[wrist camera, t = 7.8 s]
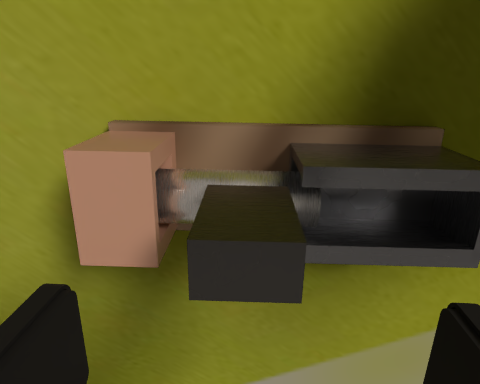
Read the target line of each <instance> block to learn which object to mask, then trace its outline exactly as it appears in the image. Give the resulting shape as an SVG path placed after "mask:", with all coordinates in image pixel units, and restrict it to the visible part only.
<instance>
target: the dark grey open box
mask: <svg viewBox="0 0 480 384" xmlns="http://www.w3.org/2000/svg"><path fill="white" fill-rule="evenodd" d="M289 171H295V172H300V175H301V180H300V184H301V186H302V187H312V188H321V208H320V216H319V221H318V224H317V226H316V227H302V230H303V233H304V236H305V239H306V242H307V245H306V256H305V263H323V264H358V265H393V266H428V267H464V268H478V264H479V261H480V161H478V160H475V159H473V158H470V157H467V156H465V155H462V154H460V153H457V152H455V151H452V150H450V149H447V148H445V147H442V146H414V145H367V144H321V143H290V158H289Z"/></svg>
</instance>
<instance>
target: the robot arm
mask: <svg viewBox="0 0 480 384" xmlns="http://www.w3.org/2000/svg"><path fill="white" fill-rule="evenodd" d="M88 374H89V369H88V363H87V356H86V350H85V344H84V338H83V332H82V326H81V320H80V313H79V307H78V301H77V295H76V293H75V291H71V289H70V287H69V286H68V285H65V284H43V285H42V286H40V287H39V288H38V289H37V290H36V291H35V292H34V293H33V294H32V295H31V296H30V297H29V298H28V299H27V300H26V301H25V302H24V303H23V304H22V305H21V306H20V307H19V308H18V309H17V310H16V311H15V312H14V313H13V314H12V315H11V316H10V317H8V318H7V319H6V320H5V321H4V322H3V323H2V324H1V325H0V384H86V383H87V380H88ZM423 384H480V306H479V305H478V304H470V303H450V304H449V305H448V307H447V308H445V309H443V310H442V311H441V313H440V317H439V321H438V325H437V329H436V333H435V337H434V342H433V346H432V350H431V354H430V358H429V362H428V366H427V370H426V374H425V378H424V382H423Z"/></svg>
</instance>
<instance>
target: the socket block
mask: <svg viewBox="0 0 480 384" xmlns="http://www.w3.org/2000/svg"><path fill="white" fill-rule="evenodd" d="M63 152H64V159H65V165H66V172H67V179H68V185H69V192H70V198H71V205H72V211H73V218H74V225H75V231H76V238H77V244H78V251H79V257H80V264H81V265H89V266H124V267H159V265H160V262H161V260H162V258H163V256H164V254H165V252H166V250H167V247H168V245H169V243H170V241H171V239H172V237H173V235H174V232H175V230H176V228H177V226H178V224H179V223H158V209H157V193H156V178H155V172H156V170H157V169H158V168H165V169H176V149H175V132H141V131H107V132H105V133H103V134H100V135H98V136H96V137H93V138H91V139H89V140H86V141H84V142H82V143H79V144H77V145H75V146H72V147H70V148H68V149H65V150H63Z"/></svg>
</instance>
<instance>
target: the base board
mask: <svg viewBox="0 0 480 384" xmlns="http://www.w3.org/2000/svg"><path fill="white" fill-rule="evenodd" d="M108 126H109V131H141V132H175V149H176V169H208V170H252V171H289V158H290V143H321V144H367V145H414V146H441V144H442V139H443V134H444V130H445V129H441V128H438V127H419V126H369V125H320V124H271V123H222V122H173V121H123V120H114V121H111V122H108ZM192 225H193V224H178V226H177V228H176V230H191V228H192Z"/></svg>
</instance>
